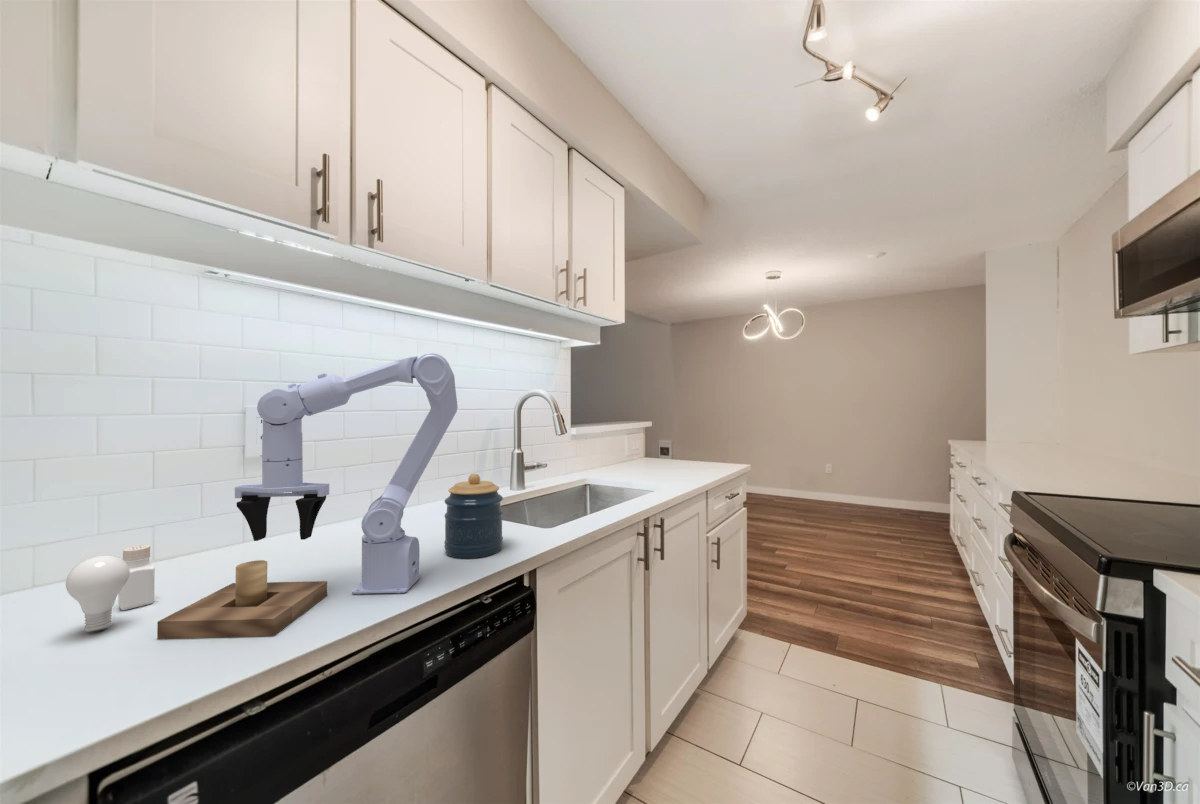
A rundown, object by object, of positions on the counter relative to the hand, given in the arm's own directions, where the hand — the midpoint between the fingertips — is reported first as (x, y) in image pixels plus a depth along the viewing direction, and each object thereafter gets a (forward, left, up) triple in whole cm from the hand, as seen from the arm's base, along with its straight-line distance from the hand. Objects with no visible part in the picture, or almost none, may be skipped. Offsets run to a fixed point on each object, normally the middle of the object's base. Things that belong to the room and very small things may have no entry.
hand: (283, 538), depth 78 cm
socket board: (+1, +6, -10) cm, 12 cm away
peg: (+1, +6, -10) cm, 12 cm away
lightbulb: (+20, +10, -11) cm, 25 cm away
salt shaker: (+23, +1, -11) cm, 25 cm away
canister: (-27, -25, -11) cm, 38 cm away
